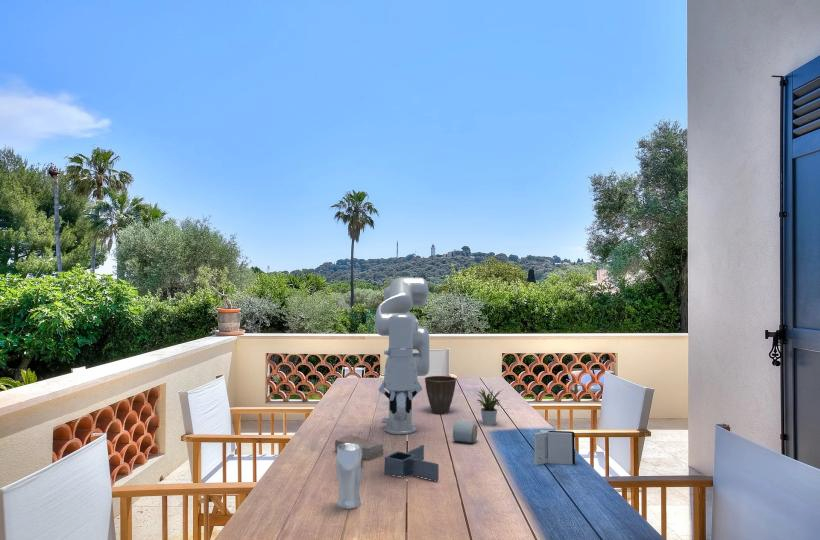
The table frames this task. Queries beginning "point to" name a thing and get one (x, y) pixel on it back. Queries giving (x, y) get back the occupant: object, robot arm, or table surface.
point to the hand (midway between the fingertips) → (400, 412)
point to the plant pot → (440, 392)
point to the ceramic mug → (464, 431)
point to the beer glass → (349, 474)
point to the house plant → (488, 408)
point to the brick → (363, 446)
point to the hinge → (554, 447)
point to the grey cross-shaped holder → (411, 464)
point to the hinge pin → (400, 405)
